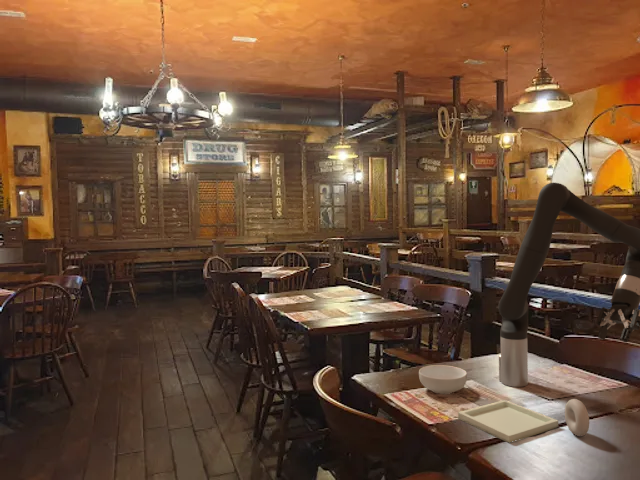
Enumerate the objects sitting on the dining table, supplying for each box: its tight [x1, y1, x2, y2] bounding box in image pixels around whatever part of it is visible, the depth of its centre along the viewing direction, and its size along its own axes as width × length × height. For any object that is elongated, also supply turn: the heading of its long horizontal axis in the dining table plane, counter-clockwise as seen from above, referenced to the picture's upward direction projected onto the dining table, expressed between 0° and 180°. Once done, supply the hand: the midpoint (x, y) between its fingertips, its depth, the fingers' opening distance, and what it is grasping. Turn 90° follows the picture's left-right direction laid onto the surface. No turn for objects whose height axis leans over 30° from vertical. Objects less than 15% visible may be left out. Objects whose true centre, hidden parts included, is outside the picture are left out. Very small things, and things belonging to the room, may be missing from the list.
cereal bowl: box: [418, 364, 468, 395], centre depth 183 cm, size 17×17×7 cm
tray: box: [457, 399, 559, 444], centre depth 153 cm, size 20×20×2 cm
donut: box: [564, 398, 590, 437], centre depth 143 cm, size 10×4×10 cm, turn 179°
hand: (612, 340), depth 156 cm, fingers open, 8 cm apart
